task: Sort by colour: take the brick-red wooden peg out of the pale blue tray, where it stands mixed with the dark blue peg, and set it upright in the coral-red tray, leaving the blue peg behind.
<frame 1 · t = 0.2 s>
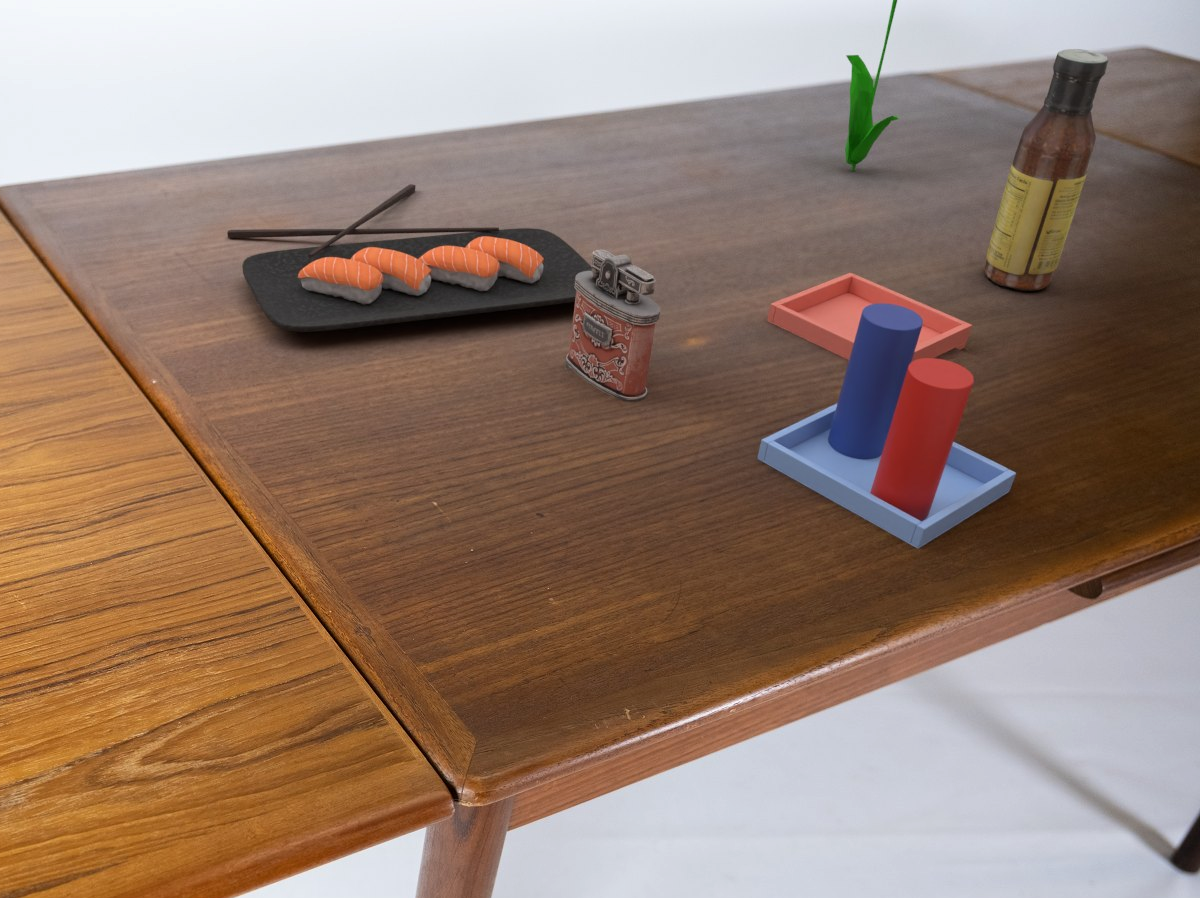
blue peg: (856, 444, 91), point 1 cm above the table, touching blue tray
red peg: (898, 506, 85), point 1 cm above the table, touching blue tray
sushi plate: (395, 259, 113), on the table
flower: (851, 172, 139), on the table
red tray: (864, 337, 107), on the table
sauce bottle: (1012, 281, 118), on the table
lighter: (604, 385, 97), on the table
blue tray: (880, 481, 89), on the table
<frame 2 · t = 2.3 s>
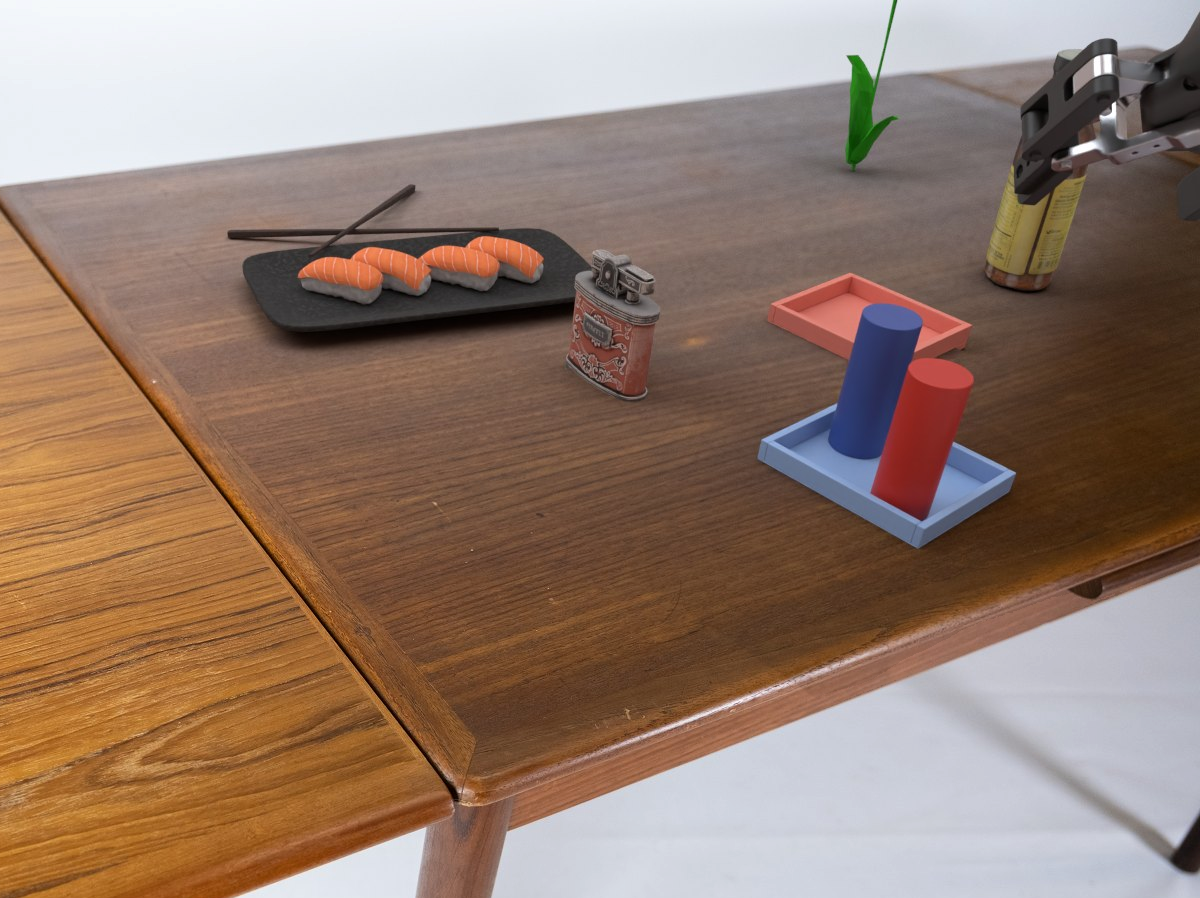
hand: (1103, 195, 64), 25 cm above the table, tool tilted 40°, fingers open, 8 cm apart
nothing on the table moved.
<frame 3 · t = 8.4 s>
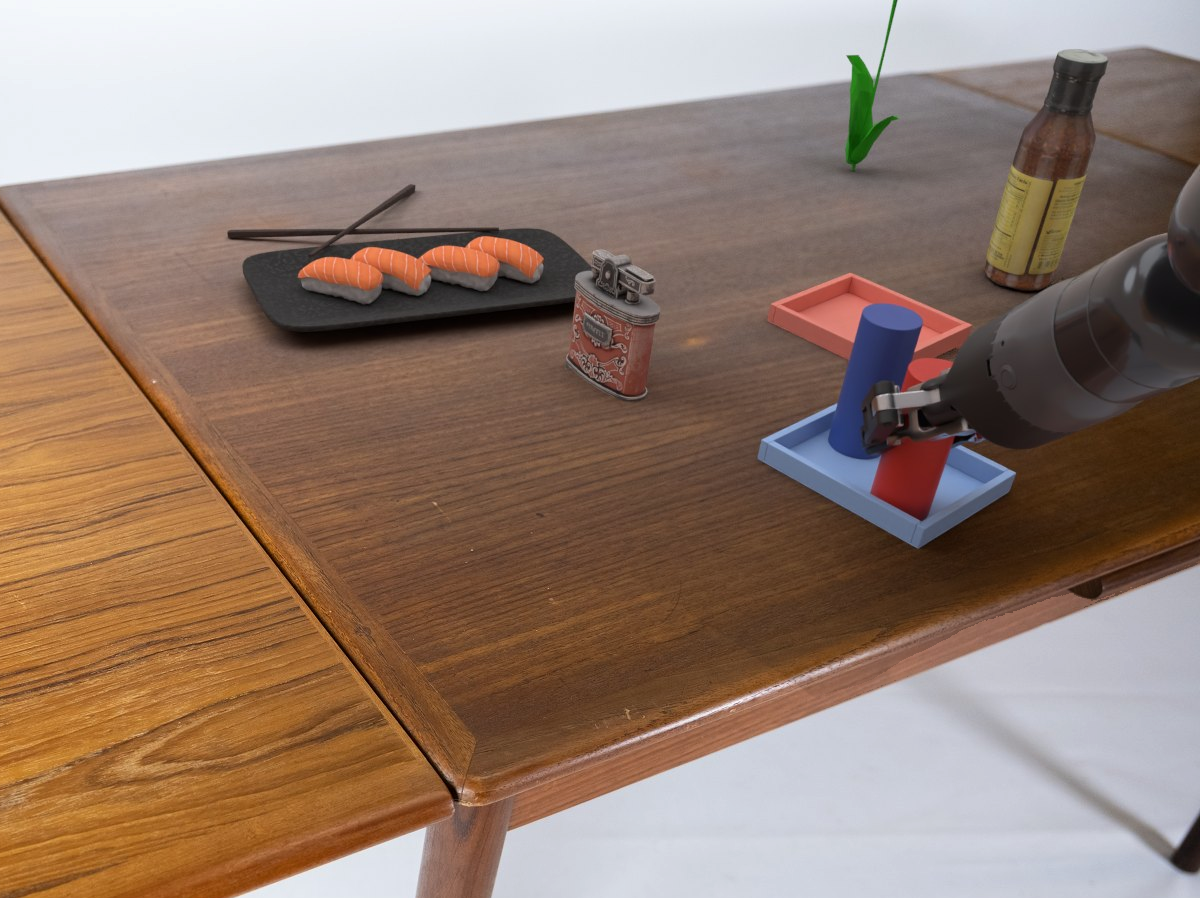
hand: (901, 438, 84), 5 cm above the table, tool tilted 45°, fingers closed on red peg, 4 cm apart
red peg: (898, 506, 85), point 1 cm above the table, touching blue tray, gripper
everything else where it was.
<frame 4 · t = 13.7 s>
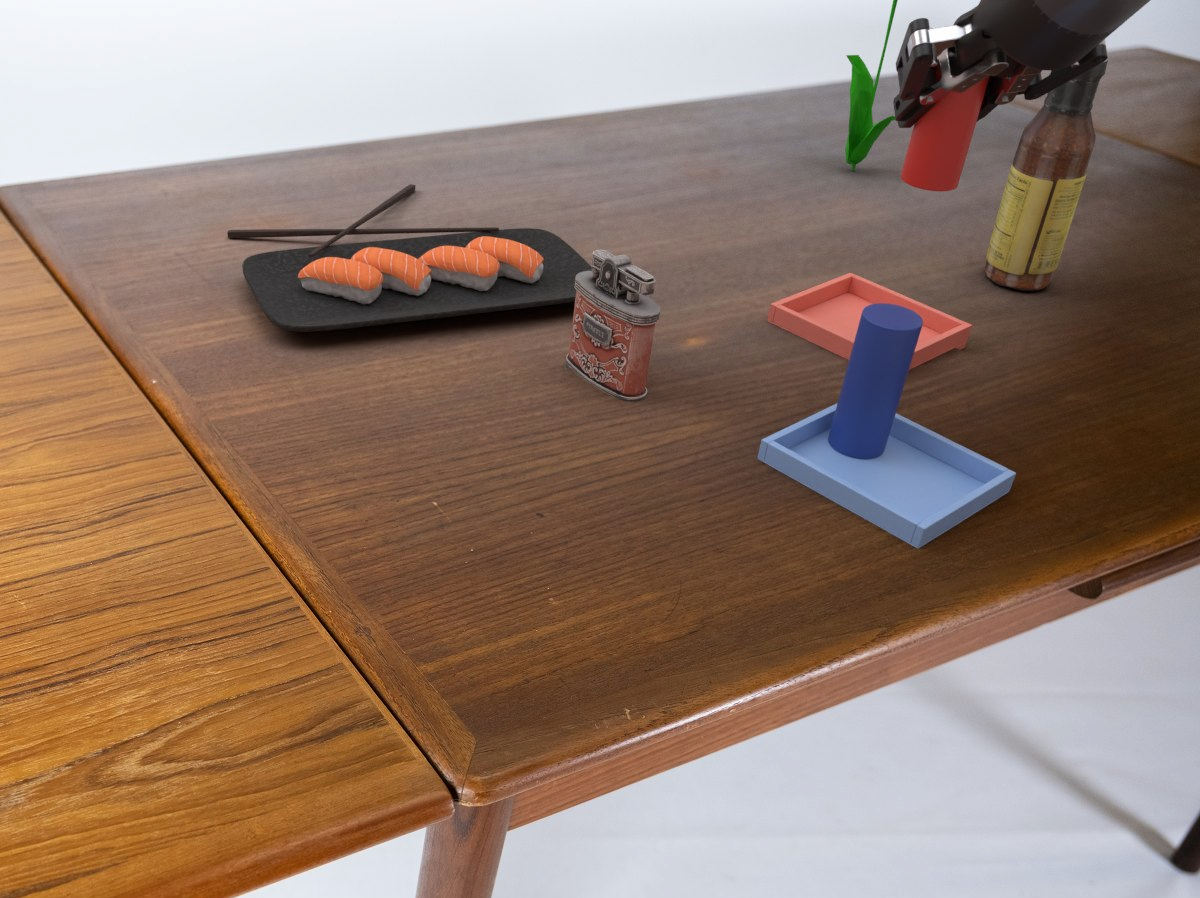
hand: (931, 114, 90), 20 cm above the table, tool tilted 45°, fingers closed on red peg, 4 cm apart
red peg: (928, 181, 91), point 16 cm above the table, touching gripper
everything else where it was.
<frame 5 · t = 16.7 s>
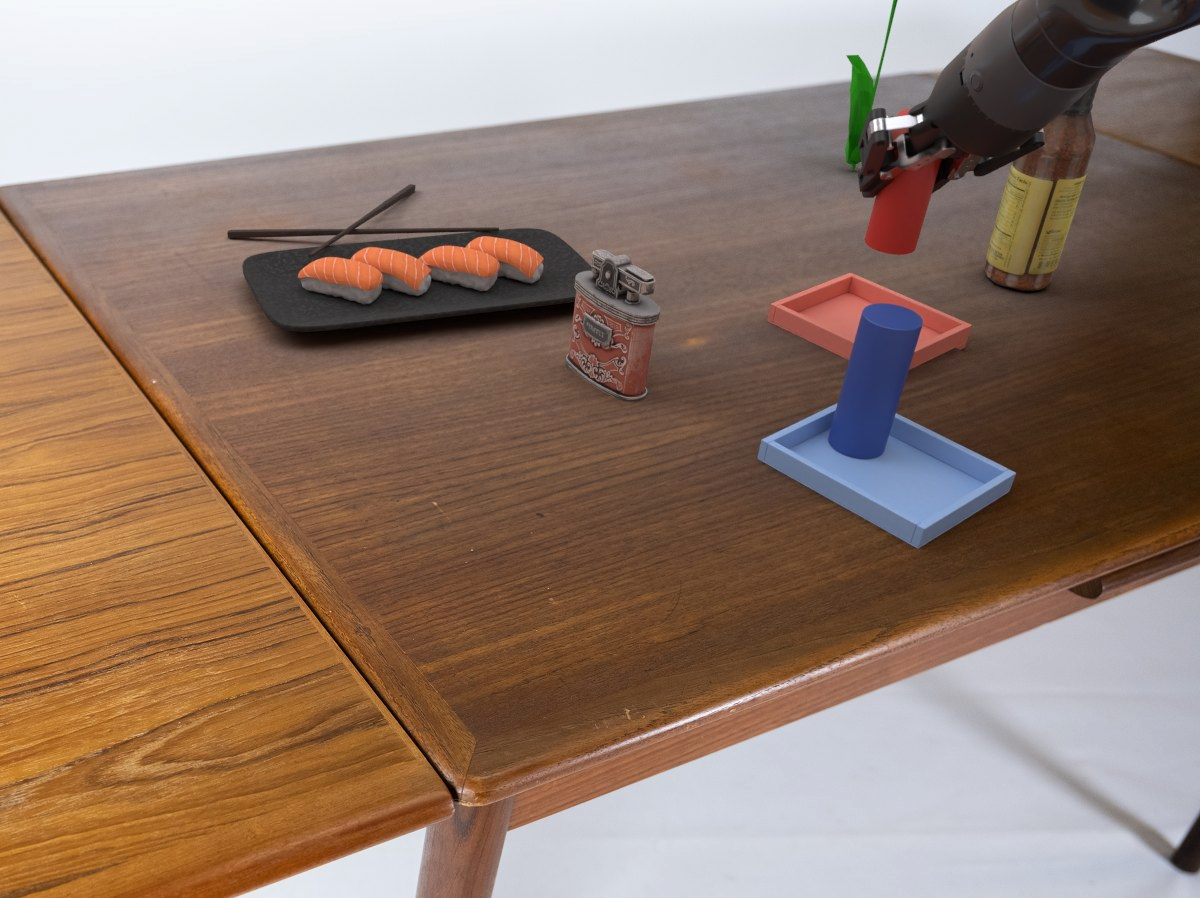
hand: (892, 186, 101), 12 cm above the table, tool tilted 45°, fingers closed on red peg, 4 cm apart
red peg: (889, 244, 102), point 8 cm above the table, touching gripper
everything else where it was.
when the fingers open (5 cm above the table, at t = 19.2 s): red peg stays where it is, resting on red tray.
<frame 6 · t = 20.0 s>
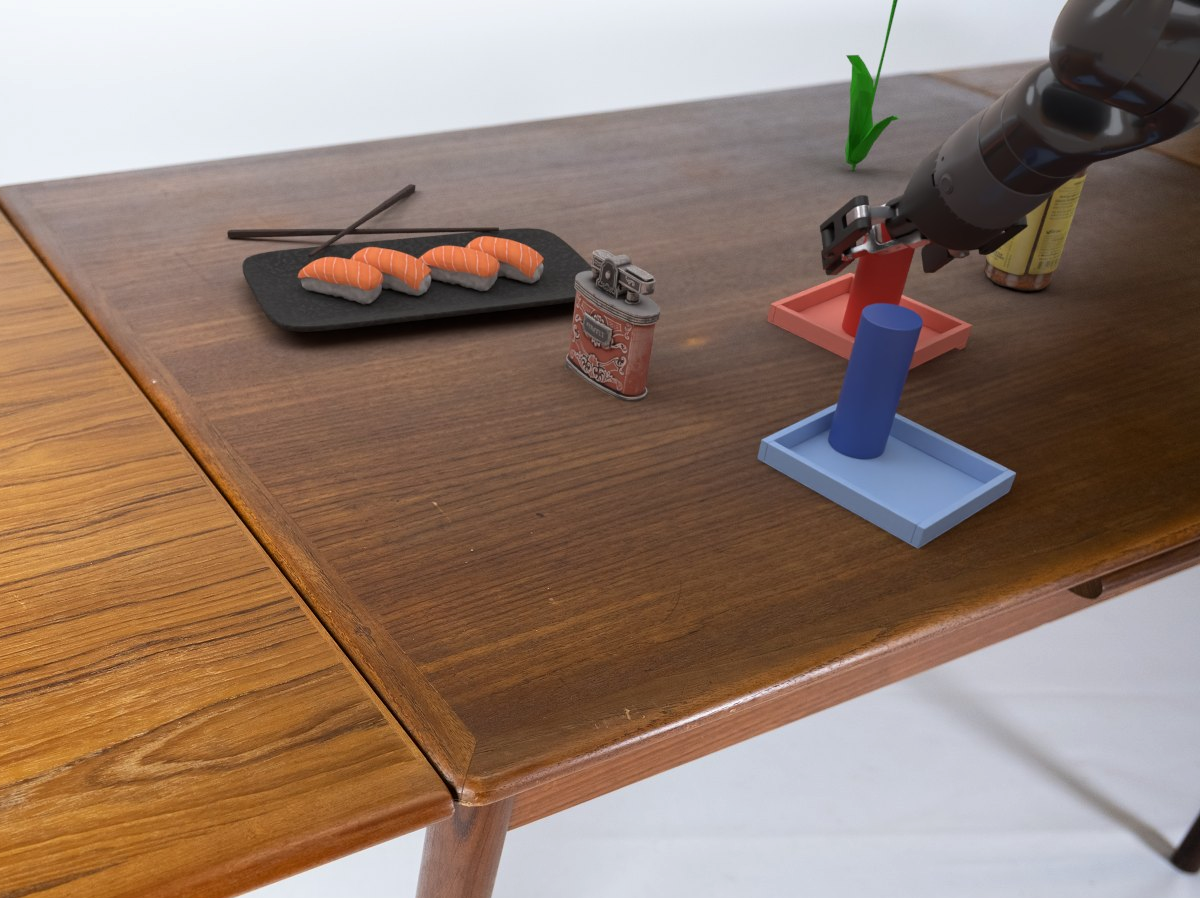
hand: (877, 262, 104), 6 cm above the table, tool tilted 45°, fingers open, 8 cm apart
red peg: (865, 330, 106), point 1 cm above the table, touching red tray
everything else where it was.
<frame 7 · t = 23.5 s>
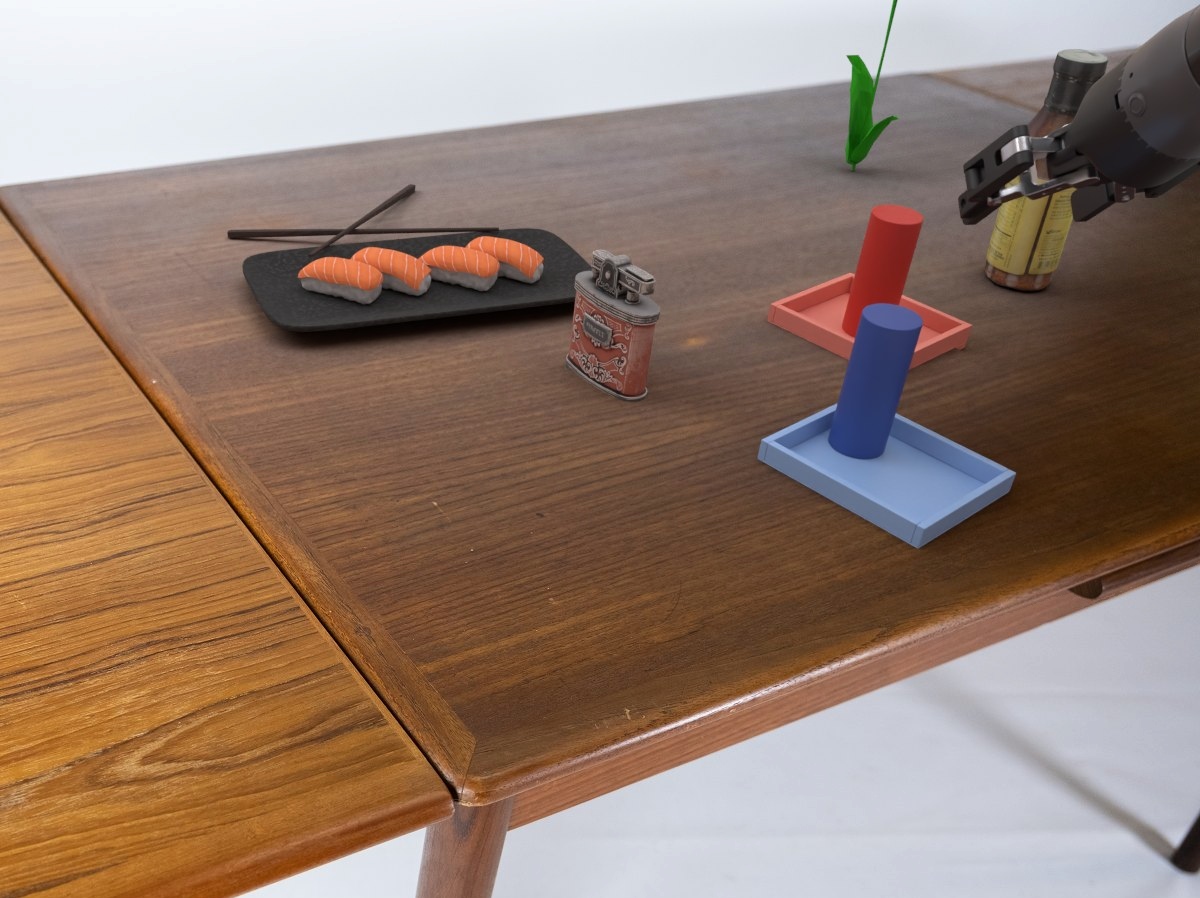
hand: (1021, 210, 90), 15 cm above the table, tool tilted 45°, fingers open, 8 cm apart
nothing on the table moved.
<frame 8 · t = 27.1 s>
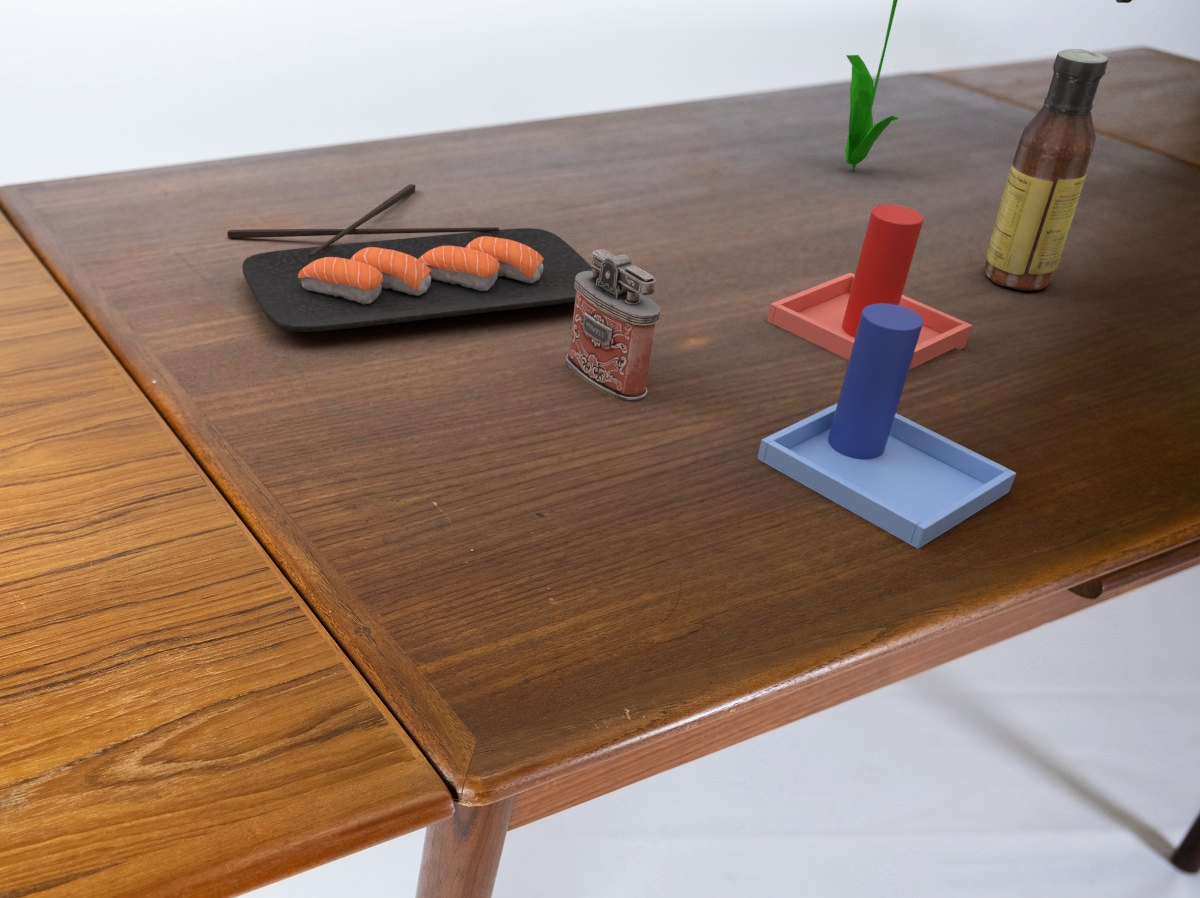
nothing on the table moved.
at the end: red peg inside the target area in the red tray (0.1 cm from its centre), point 0.6 cm above the red tray's base; red peg tilted 0°; blue peg inside the target area in the blue tray (3.9 cm from its centre), point 0.6 cm above the blue tray's base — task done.
